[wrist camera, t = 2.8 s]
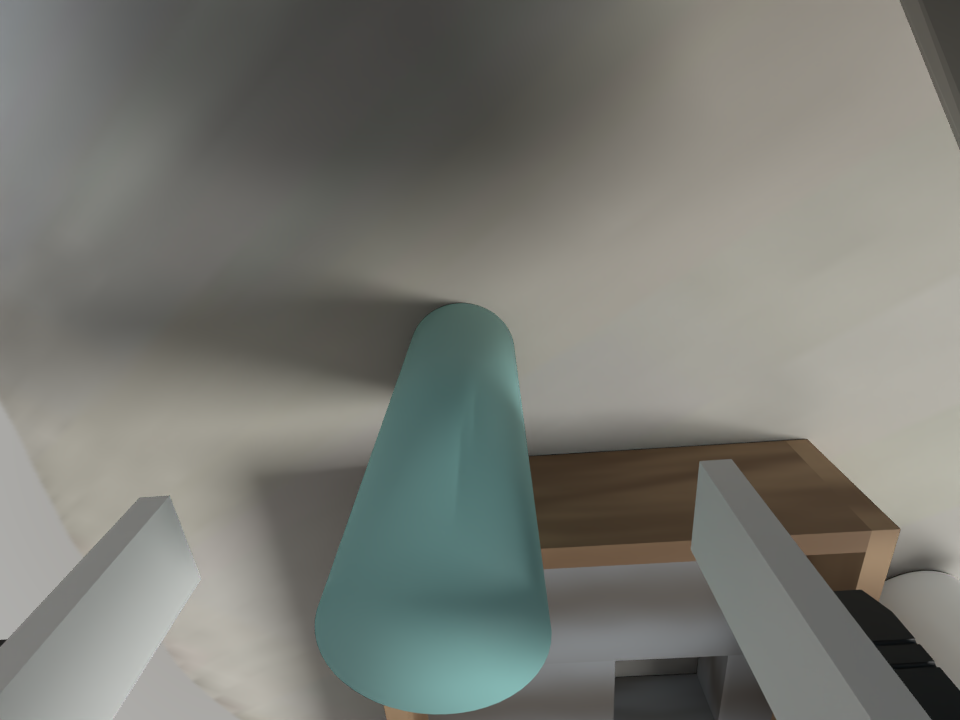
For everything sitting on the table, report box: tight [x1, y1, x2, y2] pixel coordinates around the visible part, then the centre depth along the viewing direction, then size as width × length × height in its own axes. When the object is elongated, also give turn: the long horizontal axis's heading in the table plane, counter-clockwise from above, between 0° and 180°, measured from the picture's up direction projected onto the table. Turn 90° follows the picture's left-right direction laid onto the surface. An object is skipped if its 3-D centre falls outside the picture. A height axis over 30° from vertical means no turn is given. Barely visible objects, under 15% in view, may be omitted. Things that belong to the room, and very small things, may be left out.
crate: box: [384, 439, 900, 720], centre depth 27 cm, size 24×20×6 cm
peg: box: [315, 303, 552, 714], centre depth 17 cm, size 4×4×14 cm
